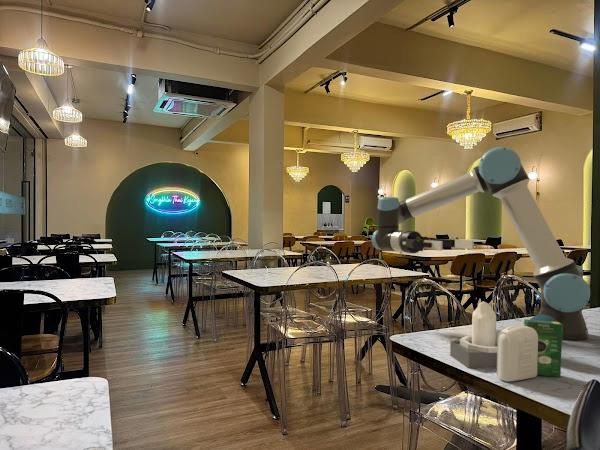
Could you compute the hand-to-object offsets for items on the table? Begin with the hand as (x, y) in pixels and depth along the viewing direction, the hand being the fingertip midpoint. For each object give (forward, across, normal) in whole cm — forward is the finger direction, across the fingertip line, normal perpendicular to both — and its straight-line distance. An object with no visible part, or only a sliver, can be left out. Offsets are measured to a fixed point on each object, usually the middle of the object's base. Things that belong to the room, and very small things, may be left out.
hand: (457, 245), depth 126 cm
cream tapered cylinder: (+13, +5, -26) cm, 30 cm away
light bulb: (+20, -11, -30) cm, 38 cm away
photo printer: (+25, +8, -30) cm, 40 cm away
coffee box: (+26, +1, -30) cm, 40 cm away
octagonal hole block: (+13, +5, -30) cm, 33 cm away
